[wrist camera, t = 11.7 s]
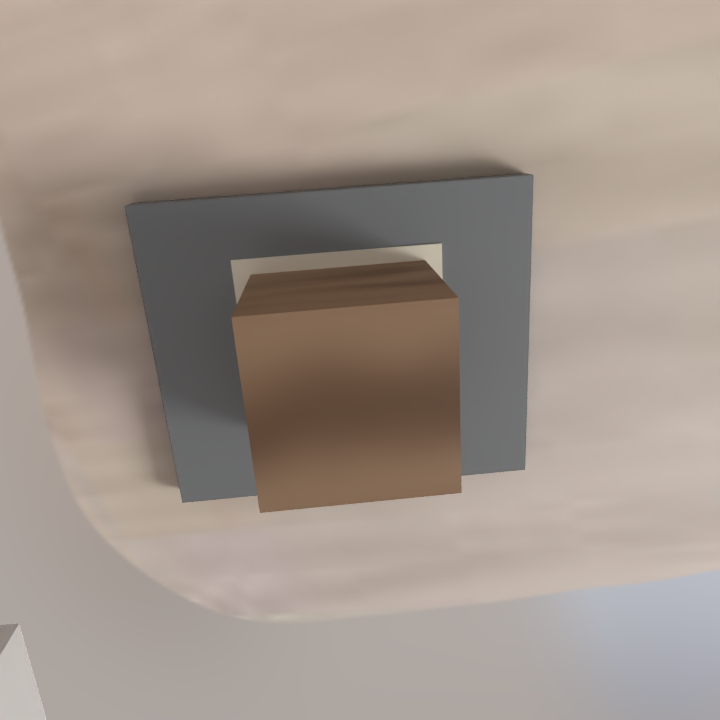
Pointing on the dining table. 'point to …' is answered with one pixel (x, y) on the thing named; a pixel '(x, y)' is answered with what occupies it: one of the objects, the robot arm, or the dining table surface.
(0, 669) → the robot arm
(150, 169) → the dining table surface
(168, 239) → the grey flat slab
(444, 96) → the dining table surface
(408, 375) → the walnut block
